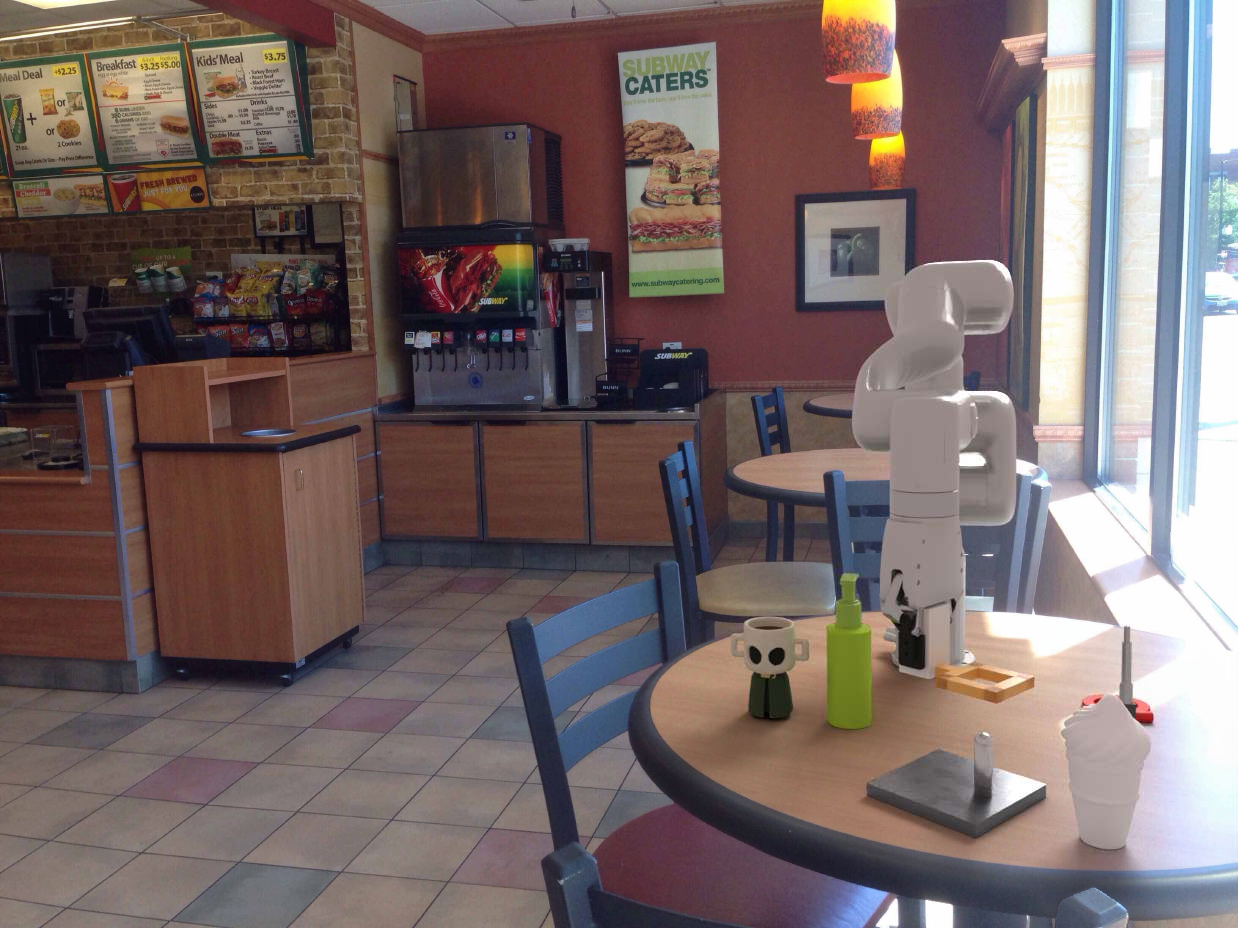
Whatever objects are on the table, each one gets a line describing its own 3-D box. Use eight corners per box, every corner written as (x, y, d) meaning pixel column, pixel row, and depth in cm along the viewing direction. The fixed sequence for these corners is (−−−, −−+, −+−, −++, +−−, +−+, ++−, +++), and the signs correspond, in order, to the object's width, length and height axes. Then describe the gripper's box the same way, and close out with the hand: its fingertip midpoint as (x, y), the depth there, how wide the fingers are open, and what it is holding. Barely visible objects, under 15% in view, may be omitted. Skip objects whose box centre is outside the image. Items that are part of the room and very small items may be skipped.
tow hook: (1074, 701, 149) (1093, 722, 140) (1075, 611, 148) (1095, 626, 139) (1138, 702, 148) (1161, 724, 139) (1139, 611, 147) (1163, 627, 138)
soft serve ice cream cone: (1044, 823, 113) (1046, 679, 111) (1119, 818, 114) (1123, 674, 112) (1085, 863, 105) (1088, 707, 103) (1165, 856, 105) (1170, 702, 103)
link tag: (889, 674, 121) (889, 606, 120) (928, 660, 125) (928, 594, 124) (996, 703, 110) (997, 628, 109) (1034, 687, 115) (1035, 615, 114)
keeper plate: (866, 795, 121) (866, 724, 120) (938, 760, 130) (938, 693, 129) (975, 837, 111) (976, 760, 109) (1045, 796, 119) (1047, 724, 118)
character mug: (726, 719, 146) (724, 628, 144) (737, 701, 153) (735, 614, 151) (806, 726, 142) (804, 632, 141) (813, 707, 149) (812, 618, 147)
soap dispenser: (874, 712, 147) (873, 571, 144) (869, 730, 140) (868, 583, 138) (831, 708, 149) (830, 569, 146) (824, 726, 142) (822, 581, 139)
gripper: (939, 492, 127) (938, 641, 129) (850, 510, 117) (851, 671, 119) (995, 498, 121) (994, 653, 124) (907, 518, 111) (907, 687, 113)
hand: (924, 660), depth 121 cm, fingers closed on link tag, 4 cm apart
